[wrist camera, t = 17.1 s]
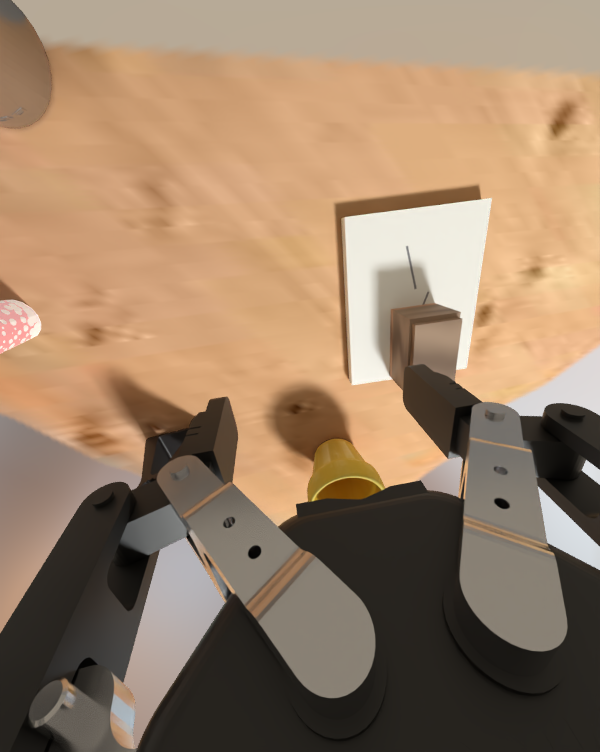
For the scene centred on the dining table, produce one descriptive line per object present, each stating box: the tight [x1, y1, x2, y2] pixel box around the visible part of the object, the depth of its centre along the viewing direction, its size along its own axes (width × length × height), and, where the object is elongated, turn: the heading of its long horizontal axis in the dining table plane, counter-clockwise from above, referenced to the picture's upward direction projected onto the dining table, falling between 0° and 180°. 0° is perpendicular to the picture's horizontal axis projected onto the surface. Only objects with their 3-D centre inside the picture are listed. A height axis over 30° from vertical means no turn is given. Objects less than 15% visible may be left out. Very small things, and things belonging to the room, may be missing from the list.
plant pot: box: [307, 439, 385, 502], centre depth 40 cm, size 10×10×10 cm
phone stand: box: [137, 428, 189, 488], centre depth 36 cm, size 9×6×12 cm, turn 103°
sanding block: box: [389, 303, 462, 390], centre depth 33 cm, size 9×6×6 cm, turn 7°
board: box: [341, 198, 492, 385], centre depth 35 cm, size 20×16×2 cm
